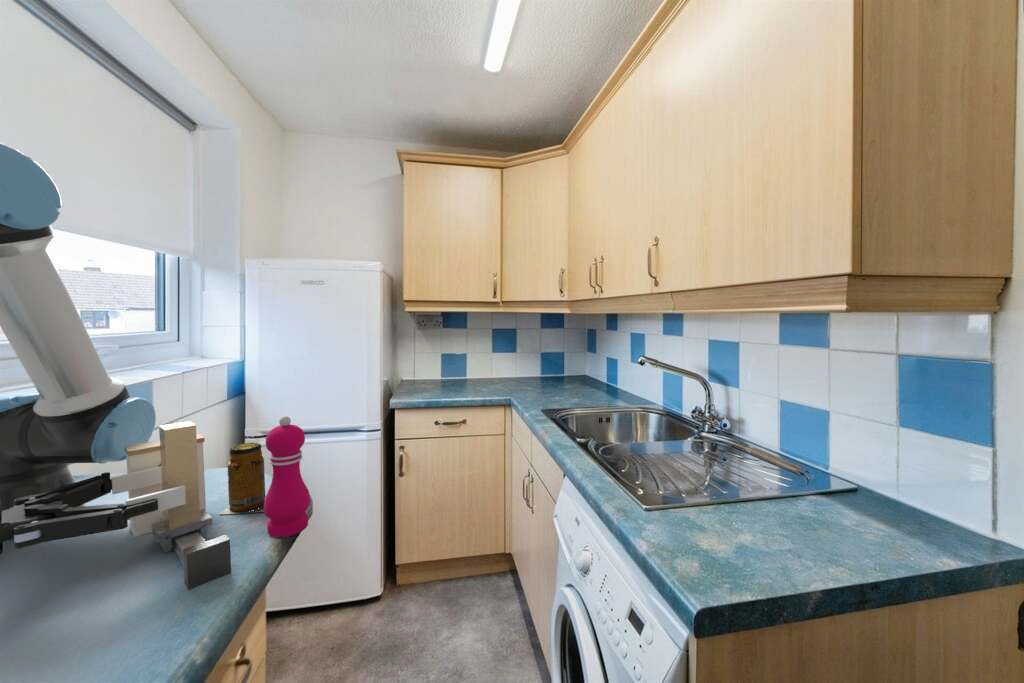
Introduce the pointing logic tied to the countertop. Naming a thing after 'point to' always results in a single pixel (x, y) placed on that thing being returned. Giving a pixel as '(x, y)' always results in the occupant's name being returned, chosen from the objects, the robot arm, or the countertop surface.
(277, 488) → the pepper mill
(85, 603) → the countertop surface
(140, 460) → the end cabinet
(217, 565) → the rail
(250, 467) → the condiment
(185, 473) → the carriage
